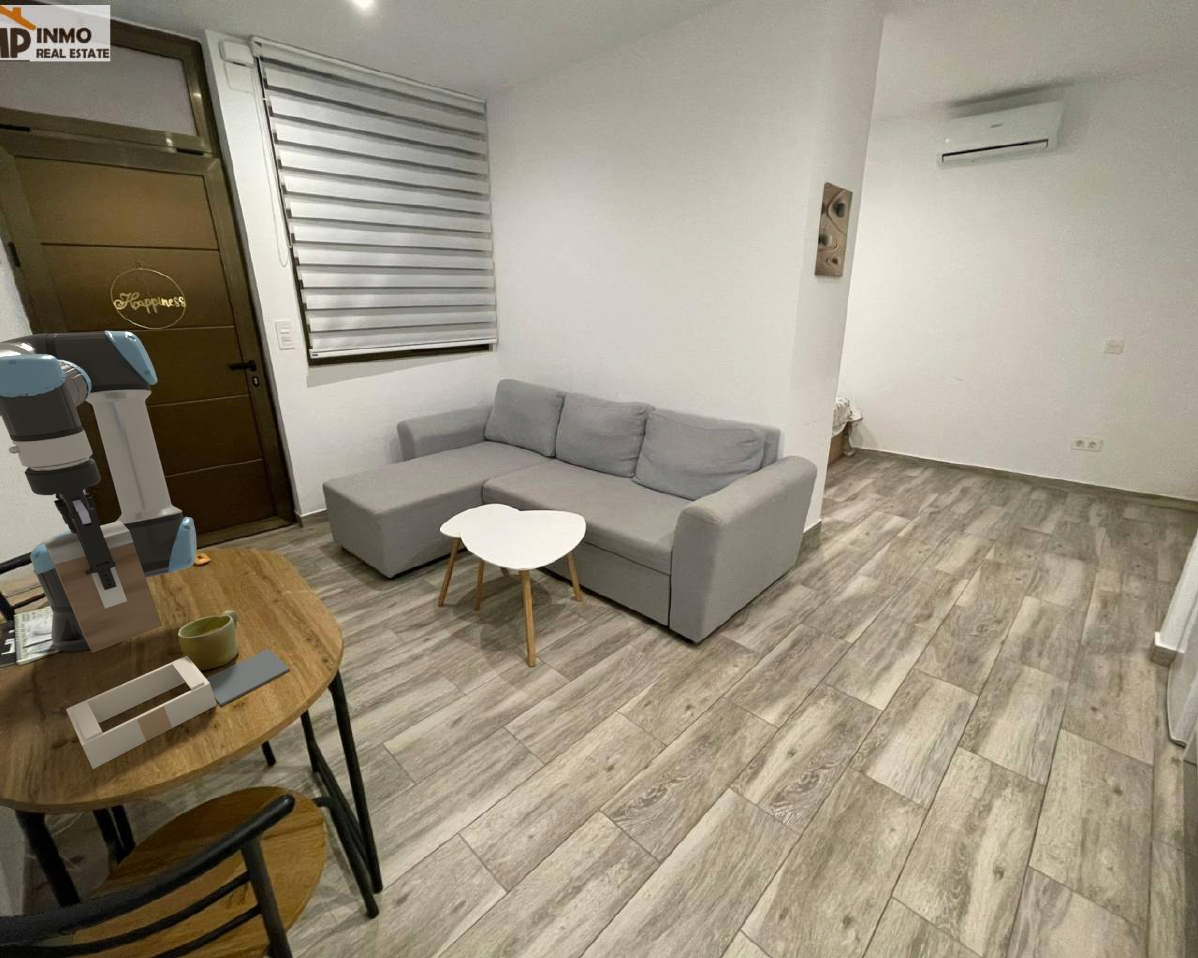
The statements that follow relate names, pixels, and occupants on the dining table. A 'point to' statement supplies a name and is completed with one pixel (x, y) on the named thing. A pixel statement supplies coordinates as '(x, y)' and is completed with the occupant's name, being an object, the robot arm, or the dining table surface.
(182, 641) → the mug
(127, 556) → the walnut box
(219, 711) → the dining table surface
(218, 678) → the mat
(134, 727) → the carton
